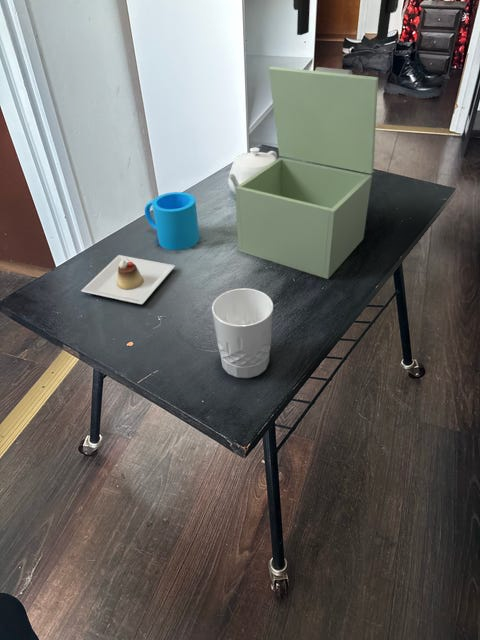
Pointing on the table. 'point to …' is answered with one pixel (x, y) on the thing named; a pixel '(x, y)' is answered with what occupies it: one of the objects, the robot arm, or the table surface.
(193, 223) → the mug
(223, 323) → the white cup
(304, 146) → the chest lid
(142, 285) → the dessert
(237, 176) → the teapot
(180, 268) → the table surface
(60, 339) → the table surface
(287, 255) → the chest
